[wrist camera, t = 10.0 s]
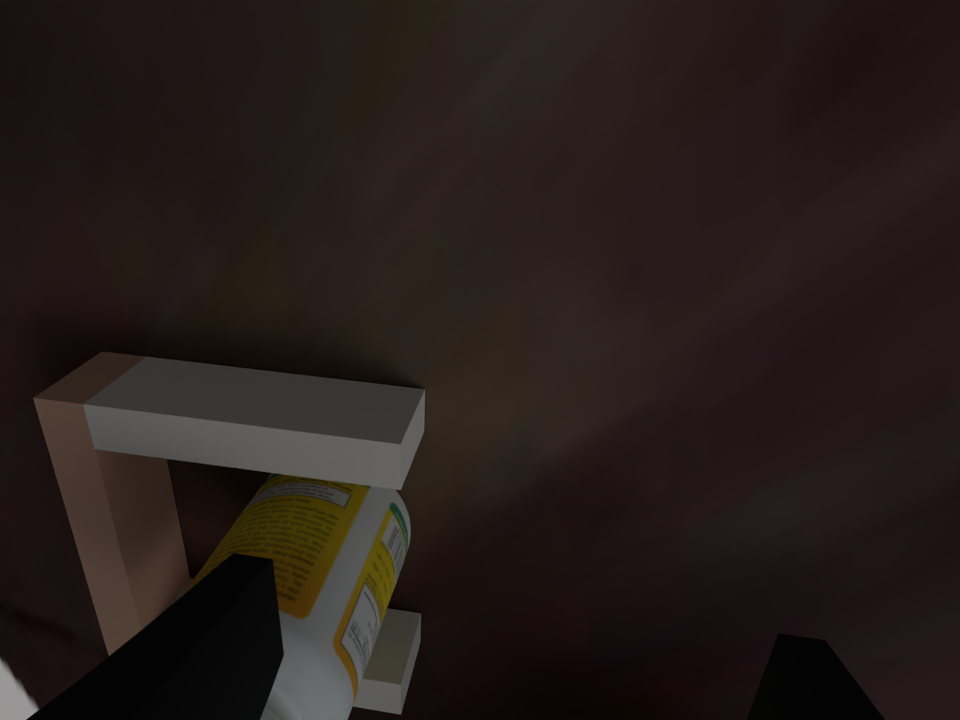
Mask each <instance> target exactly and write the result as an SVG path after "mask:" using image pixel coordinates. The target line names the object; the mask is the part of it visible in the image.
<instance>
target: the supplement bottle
mask: <svg viewBox="0 0 960 720" xmlns="http://www.w3.org/2000/svg"><path fill="white" fill-rule="evenodd" d="M410 535H411V527H410V519H409V515H408V512H407V509H406V506H405V504H404V502H403V500H402V498H401V497H400V495H399V494H398V492H397V491H396V490H395V489H389V488H382V487H374V486H367V485H359V484H352V483H344V482H337V481H329V480H322V479H314V478H307V477H299V476H292V475H284V474H277V473H272V474H271V475H270V476H269V477H268V478H267V479H266V481H265V482H264V483H263V485H262V486H261V487H260V488H259V489H258V491H257V493H256V494H255V495H254V497H253V498H252V500H251V501H250V502H249V504H248V505H247V506H246V507H245V509H244V510H243V512H242V513H241V514H240V516H239V517H238V519H237V520H236V521H235V523H234V524H233V526H232V527H231V528H230V530H229V531H228V533H227V534H226V535H225V537H224V538H223V539H222V541H221V542H220V544H219V545H218V546H217V548H216V549H215V551H214V552H213V553H212V555H211V556H210V557H209V559H208V560H207V562H206V563H205V565H204V566H203V567H202V569H201V570H200V572H199V573H198V574H197V576H196V577H195V578H194V580H193V581H192V582H191V584H190V585H189V587H188V588H187V589H186V591H185V592H184V594H185V593H186V592H187V591H188V590H190V589H191V588H192V587H193V586H194V585H195V584H197V583H198V582H199V581H200V580H201V579H203V578H204V577H205V576H206V575H207V574H208V573H210V572H211V571H212V570H213V569H214V568H216V567H217V566H218V565H219V564H221V563H222V562H223V561H224V560H225V559H227V558H228V557H229V556H231V555H232V554H233V553H236V554H243V555H250V556H256V557H263V558H270V559H273V565H274V574H275V582H276V591H277V599H278V608H279V616H280V625H281V633H282V642H283V650H284V656H283V659H282V662H281V665H280V668H279V670H278V673H277V676H276V679H275V682H274V684H273V687H272V690H271V693H270V695H269V698H268V700H267V703H266V706H265V708H264V711H263V713H262V716H261V719H260V720H347V719H348V717H349V714H350V712H351V709H352V706H353V704H354V701H355V698H356V696H357V693H358V690H359V687H360V684H361V681H362V679H363V676H364V673H365V670H366V667H367V664H368V662H369V659H370V656H371V653H372V650H373V647H374V644H375V642H376V639H377V636H378V633H379V630H380V627H381V624H382V622H383V619H384V616H385V613H386V610H387V607H388V604H389V601H390V599H391V596H392V593H393V591H394V588H395V585H396V583H397V580H398V577H399V574H400V571H401V568H402V566H403V563H404V559H405V556H406V553H407V550H408V547H409V543H410ZM184 594H183V595H184ZM183 595H182V596H183Z"/></svg>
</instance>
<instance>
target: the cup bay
mask: <svg viewBox="0 0 960 720" xmlns="http://www.w3.org/2000/svg"><path fill="white" fill-rule="evenodd" d="M33 399H34V403H35V406H36V409H37V413H38V416H39V420H40V423H41V426H42V430H43V433H44V437H45V440H46V443H47V447H48V450H49V454H50V457H51V461H52V464H53V467H54V471H55V474H56V478H57V481H58V484H59V488H60V491H61V495H62V498H63V501H64V505H65V508H66V512H67V515H68V518H69V522H70V525H71V529H72V532H73V535H74V539H75V542H76V546H77V549H78V552H79V556H80V559H81V563H82V566H83V569H84V573H85V576H86V580H87V583H88V586H89V590H90V593H91V597H92V600H93V604H94V607H95V610H96V614H97V617H98V621H99V624H100V627H101V631H102V634H103V638H104V641H105V644H106V648H107V651H108V655H109V656H110V655H111V654H112V653H114V652H115V651H116V650H117V649H118V648H120V647H121V646H122V645H123V644H125V643H126V642H127V641H128V640H130V639H131V638H132V637H133V636H135V635H136V634H137V633H138V632H139V631H141V630H142V629H143V628H144V627H146V626H147V625H148V624H149V623H150V622H152V621H153V620H154V619H155V618H156V617H158V616H159V615H160V614H161V613H162V612H164V611H165V610H166V609H167V608H168V607H169V606H171V605H172V604H173V603H174V602H175V601H177V600H178V599H179V598H180V597H181V596H182V595H183V594H184V592H185V591H186V589H187V588H188V587H189V585H190V584H191V582H192V581H193V580H194V579H192V578H190V575H189V570H188V564H187V559H186V554H185V549H184V544H183V539H182V534H181V529H180V524H179V519H178V514H177V509H176V504H175V498H174V493H173V488H172V483H171V478H170V473H169V468H168V463H167V459H172V460H180V461H187V462H195V463H202V464H210V465H217V466H225V467H232V468H239V469H247V470H254V471H262V472H269V473H277V474H284V475H292V476H299V477H307V478H314V479H322V480H329V481H337V482H344V483H352V484H359V485H367V486H374V487H382V488H389V489H397V490H401V488H402V486H403V483H404V481H405V478H406V475H407V473H408V470H409V468H410V465H411V463H412V460H413V458H414V455H415V453H416V450H417V448H418V445H419V443H420V440H421V438H422V435H423V433H424V416H425V389H418V388H409V387H401V386H392V385H384V384H375V383H367V382H358V381H350V380H341V379H333V378H324V377H316V376H307V375H299V374H290V373H282V372H273V371H265V370H256V369H248V368H239V367H231V366H222V365H214V364H205V363H197V362H188V361H180V360H171V359H163V358H154V357H146V356H137V355H129V354H120V353H112V352H103V351H102V352H101V353H99V354H98V355H96V356H95V357H93V358H92V359H90V360H89V361H87V362H86V363H84V364H83V365H81V366H80V367H78V368H77V369H76V370H74V371H73V372H71V373H70V374H68V375H67V376H65V377H64V378H62V379H61V380H59V381H58V382H56V383H55V384H53V385H52V386H50V387H49V388H47V389H46V390H44V391H43V392H41V393H40V394H38V395H37V396H35V397H34V398H33ZM420 638H421V613H415V612H408V611H402V610H395V609H389V608H387V610H386V613H385V616H384V619H383V622H382V624H381V627H380V630H379V633H378V636H377V639H376V642H375V644H374V647H373V650H372V653H371V656H370V659H369V662H368V664H367V667H366V670H365V673H364V676H363V679H362V681H361V684H360V687H359V690H358V693H357V696H356V698H355V701H354V704H353V706H354V707H360V708H365V709H371V710H377V711H383V712H389V713H395V714H401V713H402V709H403V705H404V701H405V698H406V694H407V690H408V686H409V683H410V679H411V675H412V671H413V668H414V664H415V660H416V656H417V653H418V649H419V645H420Z"/></svg>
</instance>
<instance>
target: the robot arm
mask: <svg viewBox="0 0 960 720" xmlns="http://www.w3.org/2000/svg"><path fill="white" fill-rule="evenodd" d="M283 656H284V650H283V642H282V633H281V625H280V616H279V608H278V599H277V591H276V582H275V574H274V565H273V559H270V558H263V557H256V556H250V555H243V554H236V553H233V554H232V555H231V556H229V557H228V558H227V559H225V560H224V561H223V562H222V563H221V564H219V565H218V566H217V567H216V568H214V569H213V570H212V571H211V572H210V573H208V574H207V575H206V576H205V577H204V578H203V579H201V580H200V581H199V582H198V583H197V584H195V585H194V586H193V587H192V588H191V589H190V590H188V591H187V592H186V593H185V594H184V595H183V596H181V597H180V598H179V599H178V600H177V601H175V602H174V603H173V604H172V605H171V606H169V607H168V608H167V609H166V610H165V611H164V612H162V613H161V614H160V615H159V616H158V617H156V618H155V619H154V620H153V621H152V622H150V623H149V624H148V625H147V626H146V627H144V628H143V629H142V630H141V631H139V632H138V633H137V634H136V635H135V636H133V637H132V638H131V639H130V640H128V641H127V642H126V643H125V644H123V645H122V646H121V647H120V648H118V649H117V650H116V651H115V652H114V653H112V654H111V655H110V656H109V657H107V658H106V659H105V660H104V661H102V662H101V663H100V664H99V665H97V666H96V667H95V668H94V669H92V670H91V671H90V672H89V673H87V674H86V675H85V676H83V677H82V678H81V679H80V680H78V681H77V682H76V683H74V684H73V685H72V686H70V687H69V688H68V689H66V690H65V691H64V692H62V693H61V694H60V695H58V696H57V697H56V698H54V699H53V700H52V701H50V702H49V703H48V704H46V705H45V706H44V707H42V708H41V709H40V710H38V711H37V712H36V713H34V714H33V715H32V716H31V717H29V718H28V719H27V720H260V719H261V716H262V713H263V711H264V708H265V706H266V703H267V700H268V698H269V695H270V693H271V690H272V687H273V684H274V682H275V679H276V676H277V673H278V670H279V668H280V665H281V662H282V659H283ZM747 720H885V719H884V718H883V716H882V715H881V714H880V712H879V711H878V710H877V708H876V707H875V706H874V704H873V703H872V702H871V700H870V699H869V698H868V696H867V695H866V694H865V692H864V691H863V690H862V688H861V687H860V686H859V684H858V683H857V682H856V680H855V679H854V678H853V676H852V675H851V674H850V672H849V671H848V670H847V668H846V667H845V666H844V664H843V663H842V662H841V660H840V659H839V658H838V656H837V655H836V654H835V652H834V651H833V650H832V649H831V647H830V646H829V645H828V643H827V642H826V641H825V640H819V639H813V638H806V637H799V636H792V635H785V634H779V633H778V636H777V639H776V642H775V644H774V647H773V650H772V652H771V655H770V658H769V661H768V663H767V666H766V669H765V671H764V674H763V677H762V680H761V682H760V685H759V688H758V690H757V693H756V696H755V699H754V701H753V704H752V707H751V709H750V712H749V715H748V718H747Z"/></svg>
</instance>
